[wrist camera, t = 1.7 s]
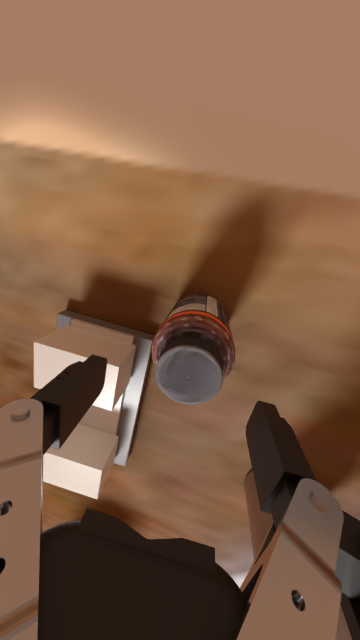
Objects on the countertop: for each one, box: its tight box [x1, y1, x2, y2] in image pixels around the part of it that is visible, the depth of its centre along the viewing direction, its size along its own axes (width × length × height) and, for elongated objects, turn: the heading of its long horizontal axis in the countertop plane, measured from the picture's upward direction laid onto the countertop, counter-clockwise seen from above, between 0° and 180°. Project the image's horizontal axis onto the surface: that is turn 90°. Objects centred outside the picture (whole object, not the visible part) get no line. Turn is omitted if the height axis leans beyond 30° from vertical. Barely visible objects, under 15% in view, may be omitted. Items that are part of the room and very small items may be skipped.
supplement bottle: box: [152, 293, 235, 405], centre depth 17 cm, size 6×6×11 cm
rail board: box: [34, 310, 155, 499], centre depth 25 cm, size 20×11×6 cm, turn 166°
